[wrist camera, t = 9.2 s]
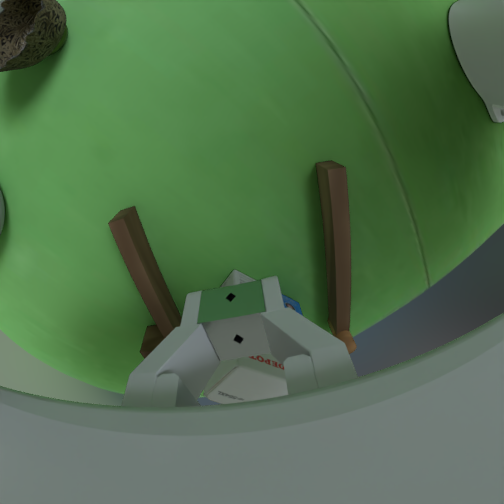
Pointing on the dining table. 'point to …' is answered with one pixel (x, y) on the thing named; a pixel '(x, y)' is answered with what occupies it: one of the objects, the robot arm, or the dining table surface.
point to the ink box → (248, 368)
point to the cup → (30, 32)
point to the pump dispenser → (1, 212)
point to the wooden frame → (336, 251)
